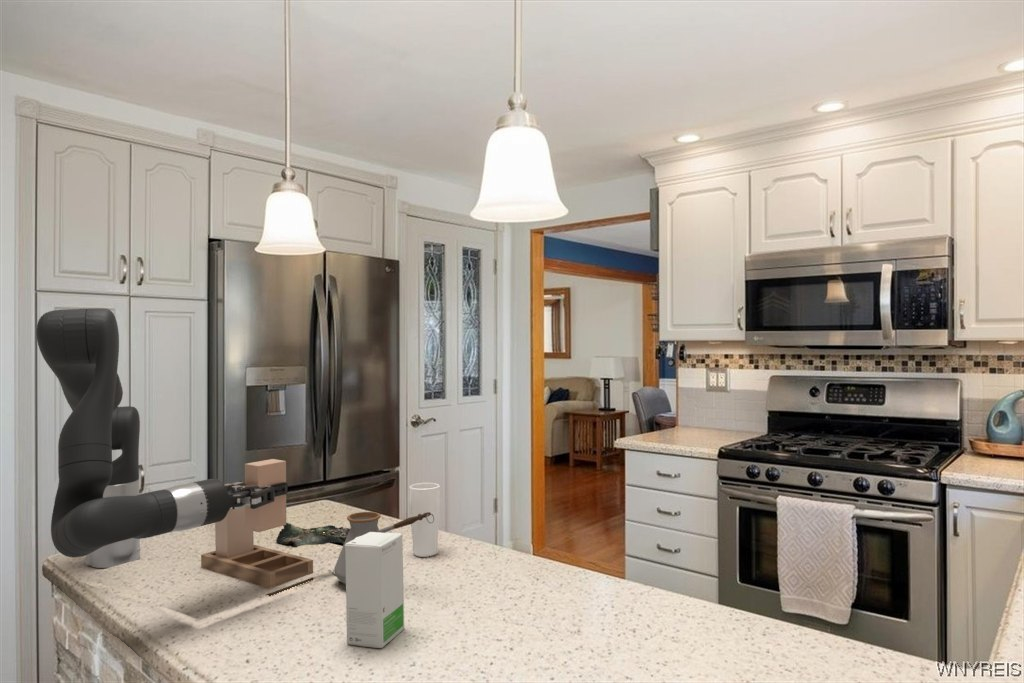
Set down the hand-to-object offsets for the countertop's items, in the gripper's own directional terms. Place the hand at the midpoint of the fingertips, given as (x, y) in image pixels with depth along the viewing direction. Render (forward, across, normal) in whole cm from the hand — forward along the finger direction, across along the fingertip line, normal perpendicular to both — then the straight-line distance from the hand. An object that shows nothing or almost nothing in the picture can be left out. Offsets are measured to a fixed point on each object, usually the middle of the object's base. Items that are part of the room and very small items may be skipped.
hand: (278, 486), depth 128 cm
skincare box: (-5, -30, +19) cm, 36 cm away
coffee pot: (+12, -16, +20) cm, 28 cm away
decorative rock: (+24, +18, +20) cm, 36 cm away
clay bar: (-3, 0, +7) cm, 8 cm away
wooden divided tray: (+2, +9, +20) cm, 22 cm away
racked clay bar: (+1, +16, +18) cm, 24 cm away
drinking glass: (+31, -10, +20) cm, 38 cm away
